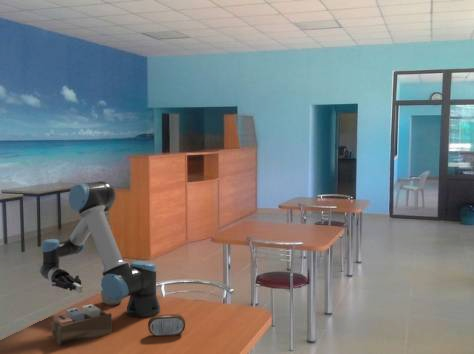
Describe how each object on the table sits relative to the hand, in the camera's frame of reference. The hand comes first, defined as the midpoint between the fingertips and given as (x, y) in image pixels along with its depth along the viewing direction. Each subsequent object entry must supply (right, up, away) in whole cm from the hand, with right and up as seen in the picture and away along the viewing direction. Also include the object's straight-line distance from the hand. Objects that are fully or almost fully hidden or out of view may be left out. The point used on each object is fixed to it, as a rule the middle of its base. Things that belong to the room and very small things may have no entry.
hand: (80, 289), depth 224 cm
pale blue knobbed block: (+1, -13, -11) cm, 17 cm away
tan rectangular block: (-1, -13, -19) cm, 23 cm away
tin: (+39, -16, -14) cm, 45 cm away
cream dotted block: (+6, -12, -6) cm, 15 cm away
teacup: (+8, -12, +26) cm, 29 cm away
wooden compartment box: (+5, -15, -16) cm, 23 cm away
